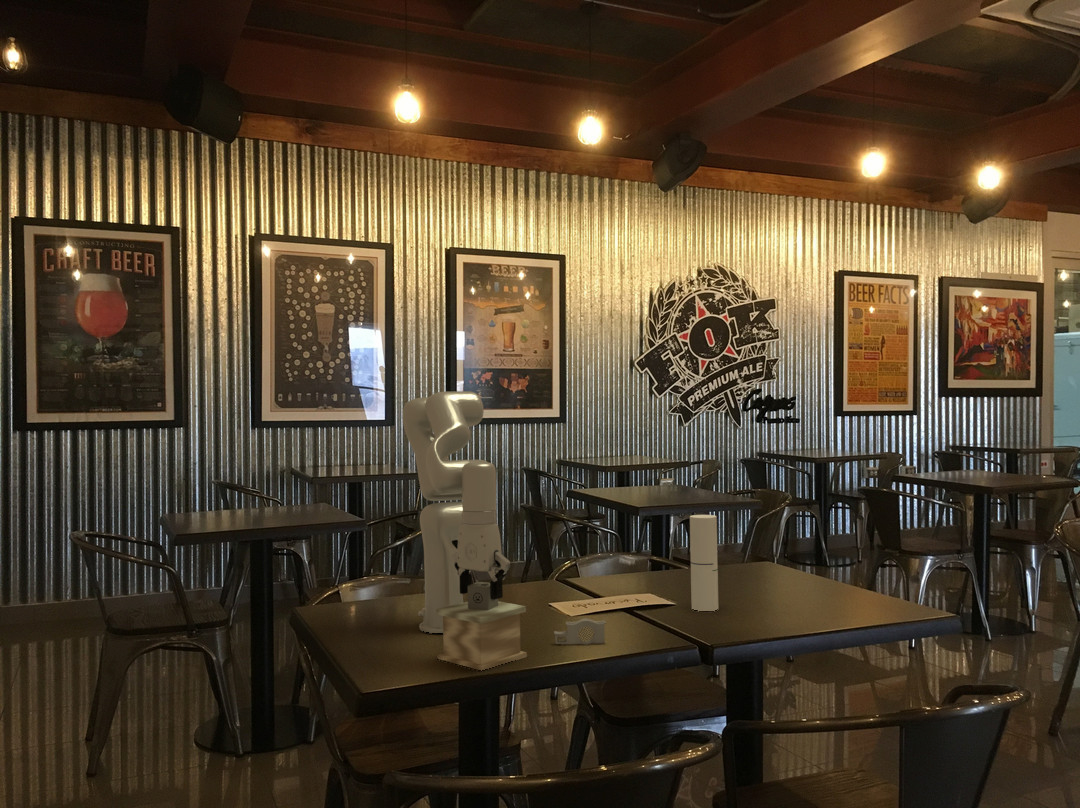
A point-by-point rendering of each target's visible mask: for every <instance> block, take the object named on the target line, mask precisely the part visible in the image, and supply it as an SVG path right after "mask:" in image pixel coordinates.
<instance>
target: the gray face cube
mask: <svg viewBox="0 0 1080 808" xmlns="http://www.w3.org/2000/svg"><path fill="white" fill-rule="evenodd" d="M498 601H499V599H495V600H492V599H491V598H490V581H488V582H486V581H485V582H484V581H477V582H475V583H472V584H471V585H469V586H468V593H467V602H468V609H478V610H490V609H492V608H494V607H496V606H498Z"/></svg>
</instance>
